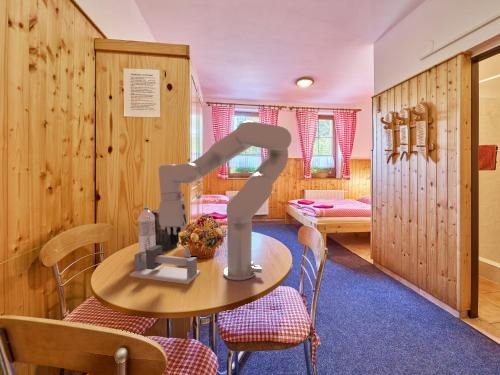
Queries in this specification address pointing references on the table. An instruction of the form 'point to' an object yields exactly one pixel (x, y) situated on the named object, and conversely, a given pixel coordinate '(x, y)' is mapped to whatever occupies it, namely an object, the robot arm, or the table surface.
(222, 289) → the table surface
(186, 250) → the skincare box
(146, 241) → the water bottle
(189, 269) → the slider rail stand
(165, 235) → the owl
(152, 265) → the collar
